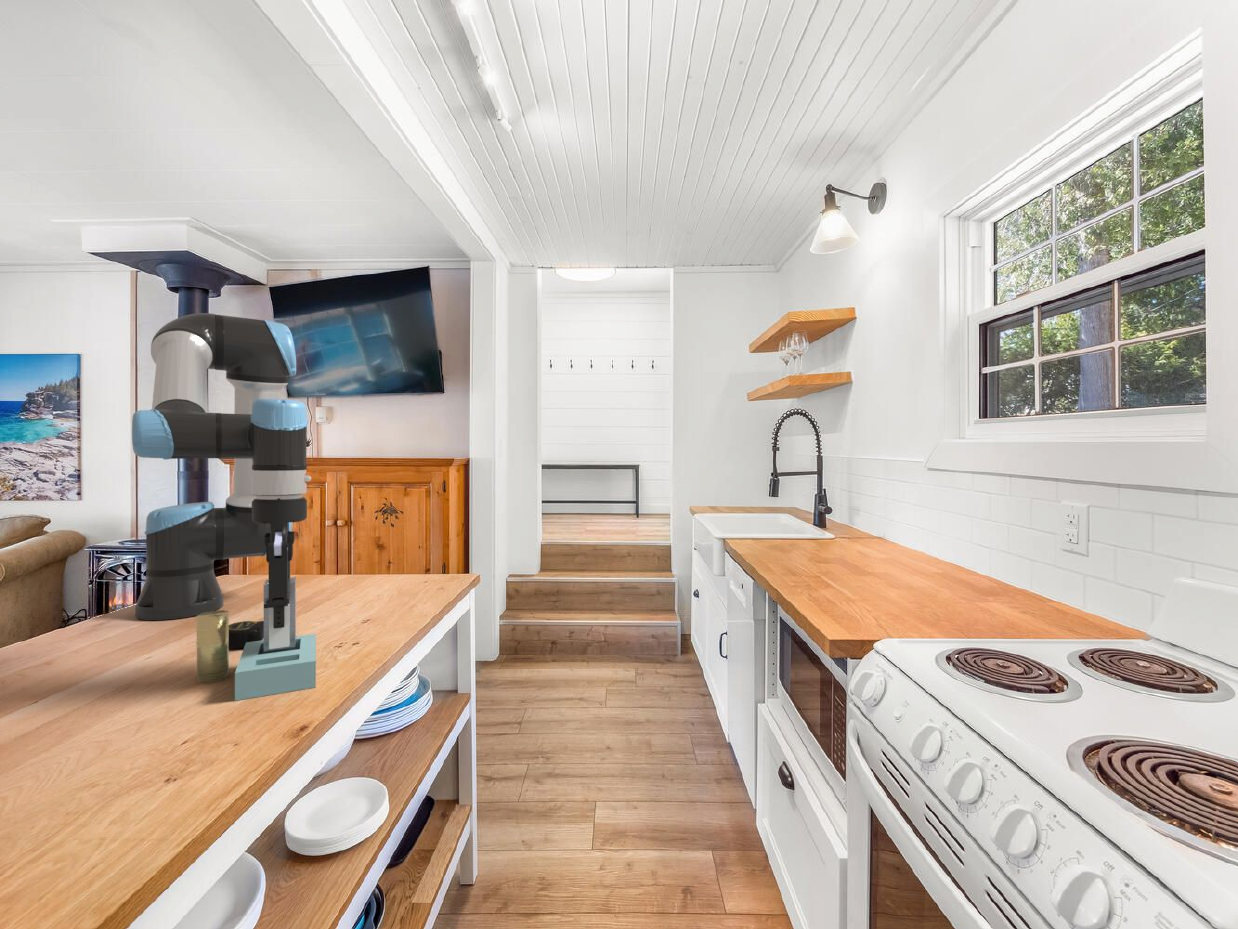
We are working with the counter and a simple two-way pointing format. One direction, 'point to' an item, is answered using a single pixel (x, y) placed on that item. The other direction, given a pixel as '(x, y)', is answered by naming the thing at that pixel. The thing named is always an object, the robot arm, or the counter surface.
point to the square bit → (291, 617)
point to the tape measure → (245, 633)
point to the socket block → (276, 669)
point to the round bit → (212, 646)
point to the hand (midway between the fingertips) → (280, 642)
